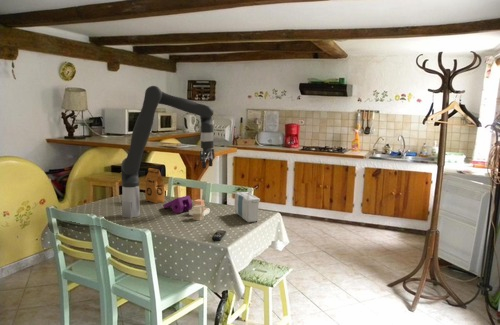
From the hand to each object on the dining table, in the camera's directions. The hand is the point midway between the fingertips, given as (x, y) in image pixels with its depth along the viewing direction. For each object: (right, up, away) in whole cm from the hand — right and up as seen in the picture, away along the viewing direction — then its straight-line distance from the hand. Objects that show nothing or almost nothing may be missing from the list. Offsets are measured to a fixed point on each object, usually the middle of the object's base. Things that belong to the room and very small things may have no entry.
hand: (207, 167), depth 232 cm
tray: (-4, -27, -3) cm, 28 cm away
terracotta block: (-4, -27, -3) cm, 27 cm away
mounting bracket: (-20, -27, +5) cm, 33 cm away
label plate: (-6, -25, +15) cm, 30 cm away
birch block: (-3, -29, -13) cm, 32 cm away
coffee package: (-37, -23, +26) cm, 51 cm away
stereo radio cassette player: (+23, -29, -9) cm, 38 cm away
